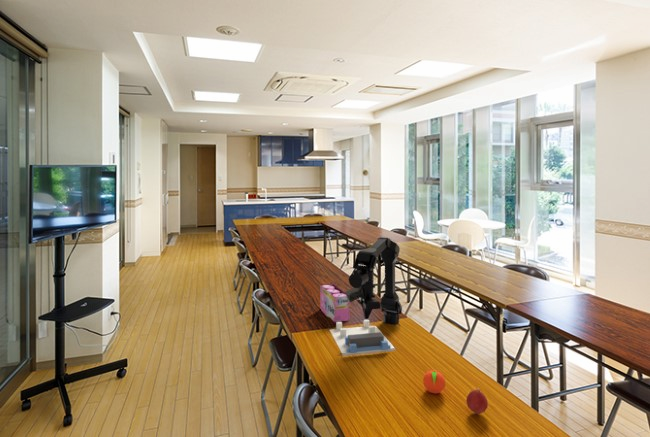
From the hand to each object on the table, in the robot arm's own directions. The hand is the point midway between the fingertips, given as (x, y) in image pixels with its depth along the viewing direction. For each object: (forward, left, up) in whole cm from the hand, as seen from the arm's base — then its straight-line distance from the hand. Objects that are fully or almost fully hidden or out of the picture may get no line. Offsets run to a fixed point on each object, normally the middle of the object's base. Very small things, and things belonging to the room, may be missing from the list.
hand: (366, 318), depth 157 cm
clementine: (-11, +37, -12) cm, 41 cm away
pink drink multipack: (+5, -38, -13) cm, 40 cm away
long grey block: (+1, +2, -11) cm, 11 cm away
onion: (-18, +50, -12) cm, 55 cm away
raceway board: (+1, -6, -12) cm, 14 cm away
